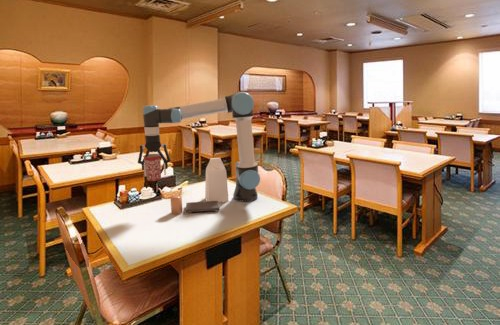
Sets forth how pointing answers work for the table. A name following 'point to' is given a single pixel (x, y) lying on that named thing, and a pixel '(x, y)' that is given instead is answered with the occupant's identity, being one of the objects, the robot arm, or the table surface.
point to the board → (202, 206)
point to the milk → (216, 181)
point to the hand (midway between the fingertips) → (155, 175)
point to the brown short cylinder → (176, 204)
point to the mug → (153, 167)
